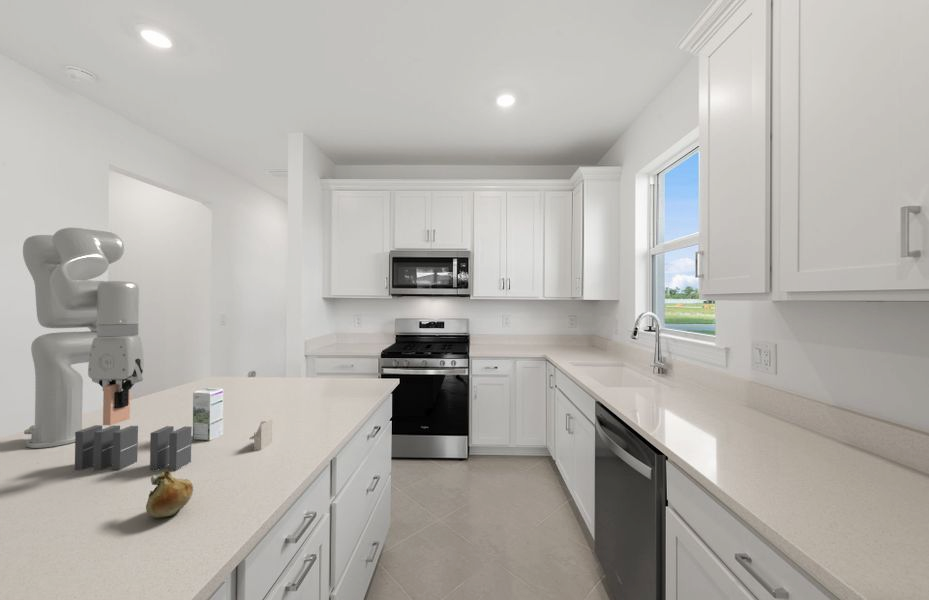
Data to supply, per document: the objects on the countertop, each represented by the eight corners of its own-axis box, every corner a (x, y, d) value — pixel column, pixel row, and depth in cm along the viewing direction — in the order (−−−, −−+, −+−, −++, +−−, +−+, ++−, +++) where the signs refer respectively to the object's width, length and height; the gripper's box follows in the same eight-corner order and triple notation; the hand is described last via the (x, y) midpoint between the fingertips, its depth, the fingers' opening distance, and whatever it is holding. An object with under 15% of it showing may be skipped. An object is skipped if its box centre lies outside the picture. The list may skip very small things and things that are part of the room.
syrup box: (223, 434, 118) (224, 387, 118) (209, 441, 112) (210, 392, 112) (206, 433, 118) (207, 387, 119) (191, 440, 113) (192, 391, 113)
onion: (136, 529, 69) (137, 485, 69) (152, 507, 76) (152, 467, 76) (186, 520, 72) (187, 478, 72) (197, 500, 79) (197, 462, 80)
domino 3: (93, 469, 93) (94, 432, 93) (112, 461, 98) (113, 425, 98) (100, 469, 93) (101, 432, 93) (119, 461, 98) (120, 425, 98)
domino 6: (168, 470, 93) (169, 433, 93) (183, 462, 98) (184, 426, 98) (176, 470, 93) (176, 433, 93) (190, 462, 98) (191, 426, 98)
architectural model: (248, 451, 106) (249, 425, 106) (262, 442, 113) (263, 417, 113) (260, 451, 106) (260, 425, 106) (274, 442, 113) (274, 417, 113)
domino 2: (102, 425, 90) (103, 386, 90) (122, 418, 95) (123, 381, 95) (110, 425, 90) (110, 386, 90) (129, 418, 95) (130, 382, 95)
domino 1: (74, 469, 93) (75, 431, 93) (94, 461, 98) (95, 425, 98) (82, 469, 93) (82, 432, 93) (101, 461, 98) (102, 425, 98)
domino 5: (149, 470, 93) (150, 432, 93) (166, 461, 98) (166, 426, 98) (157, 470, 93) (157, 433, 93) (173, 462, 98) (173, 426, 98)
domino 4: (112, 470, 93) (113, 432, 93) (130, 461, 98) (131, 425, 98) (119, 470, 93) (120, 432, 93) (137, 461, 98) (138, 425, 98)
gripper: (70, 332, 89) (69, 411, 89) (135, 333, 89) (134, 412, 89) (102, 330, 97) (101, 402, 96) (161, 330, 96) (161, 403, 96)
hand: (117, 406), depth 92 cm, fingers closed on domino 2, 1 cm apart
